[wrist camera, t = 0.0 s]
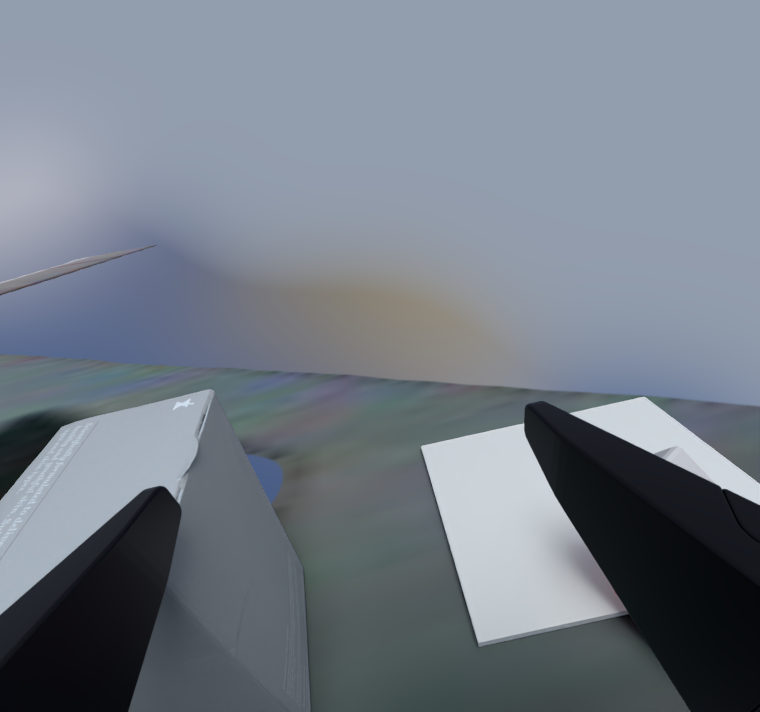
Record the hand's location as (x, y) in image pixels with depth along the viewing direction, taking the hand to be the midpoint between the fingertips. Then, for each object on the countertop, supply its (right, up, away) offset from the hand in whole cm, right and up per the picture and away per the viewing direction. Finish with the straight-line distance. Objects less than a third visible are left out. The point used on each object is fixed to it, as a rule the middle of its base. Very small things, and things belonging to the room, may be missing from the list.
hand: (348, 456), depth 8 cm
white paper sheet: (+15, -7, +15) cm, 23 cm away
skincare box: (-6, -15, +11) cm, 19 cm away
